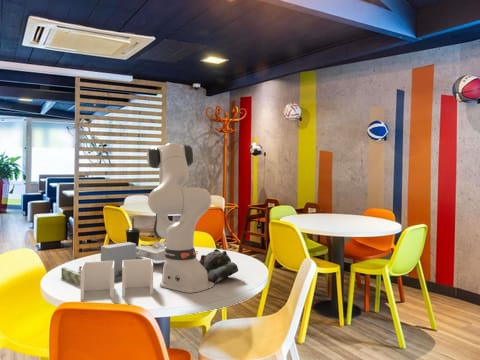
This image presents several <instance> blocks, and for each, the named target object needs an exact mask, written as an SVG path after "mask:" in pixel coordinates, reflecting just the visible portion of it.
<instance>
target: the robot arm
mask: <svg viewBox="0 0 480 360" xmlns="http://www.w3.org/2000/svg"><path fill="white" fill-rule="evenodd" d="M194 160H195V153H194V150H193V147H192V146H190V145H188V144H178V143H176V142H168V143H166V144H163V145H154V146H151V147H149V148H148V149H147V152H146V161H147V164H148V165H149V167H150V168H153V169H159V170H158V171H159V173H158V177H159V178H158V179H159V181H158V182H159V185H158V186H157V187H155V188H154V189H153V190H152V191H151V192H150V193H149V195H148V198H147V204H148V207H149V209H150V210H151V212H152V213H153V214H155V221H154V224H153V233H154V236H155V237H156V238H158V239H161V240H162V241H156V242H154V243H153V245H152V246H151V245H138V246H136V258H145V259H152V261H153V260H154V261H165V262H164V263H163V269H162V277H161V278H162V279H161V282H160V284H159V287H160V288H165V289H170V290H174V291H177V292H178V291H179V292H183V293H187V294H192V293H198V292H202V291H207V290H209V289H211V287H212V286H213V287H214V286H215V284H214V283H213V282H210V281H208V273H207V270H206V269H205V267H203V266H202V264H201V263H200V262H199V261H200V260H199V259H198V258H197V255H198V254H199V251H196V250H195V246H194V238H195V231H196V230H195V229H196V226H197V223H198V221H199V220H200V218H202V216H203V215H204V214H205V213H206V212H207V211H209V209H210V208H211V205H212V196H211V194H210V192H209V191H208V189H205V188H201V187H196V186H195V187H192V186H191V187H183V186H184V185H185V184H186V183H187V182H188V181H189V178H190V172H189V167H190V166H191V165H192V164H193V163H194ZM168 215H169V216H171V215H180V218H179V219H178V220H177V221H172V220H170V219H169V216H168ZM213 287H212V288H213ZM208 288H209V289H208Z"/></svg>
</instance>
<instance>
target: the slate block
mask: <svg viewBox="0 0 480 360" xmlns="http://www.w3.org/2000/svg"><path fill="white" fill-rule="evenodd" d="M123 260H137V257H136V244H135V243H131V242H127V241H125V242H121V243H113V244H107V245H106V244H105V245H101V246H100V261H114V275H119V271H122V263H123Z"/></svg>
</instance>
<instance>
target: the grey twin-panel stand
mask: <svg viewBox="0 0 480 360" xmlns="http://www.w3.org/2000/svg"><path fill="white" fill-rule="evenodd" d="M80 272H81V285H80V301H84V300H85V293H86V292H85V291H97V290H98V291H99V290H109V298H111V299H113V298H114V293H115V282H114V276H115V274H114V261H101V260H100V261H84V262H83V263H82V268H81V271H80ZM141 287H142V288H143V287H144V288H145V287H149V295H150V296H152V295H154V263H153V259H149V258H145V259H143V258H141V259H136V260H123V263H122V281H121V297H122V298H125V297H126V288H127V289H128V288H129V289H130V288H141Z"/></svg>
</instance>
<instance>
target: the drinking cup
mask: <svg viewBox="0 0 480 360" xmlns="http://www.w3.org/2000/svg"><path fill="white" fill-rule="evenodd" d="M131 218H132V219H131V221H132V222H131V225H132V227H129V228H127V229H125V230H124V231H125V237H126V242H131V243H135V244H136V246H140V245H139V243H140V242H139V241H140V236H141V235H140V233H141V229H139V228H137V227H135V226H134V224H135V223H134V222H135V221H134V217H131Z"/></svg>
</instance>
